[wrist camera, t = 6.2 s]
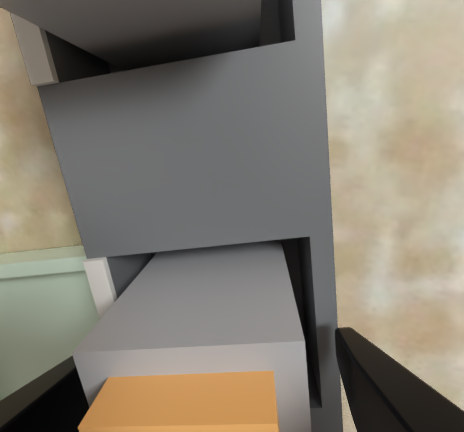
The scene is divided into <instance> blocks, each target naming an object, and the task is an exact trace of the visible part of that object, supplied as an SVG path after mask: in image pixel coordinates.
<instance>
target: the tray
mask: <svg viewBox="0 0 464 432" xmlns="http://www.w3.org/2000/svg"><path fill="white" fill-rule="evenodd" d="M86 259H87V258H86V254H85V251H84V247H83V245H78V246H68V247H59V248H50V249H41V250H31V251H22V252H13V253H3V254H0V401H1V400H2V399H4V398H5V397H7V396H9V395H10V394H12V393H13V392H15V391H16V390H18V389H20V388H21V387H23V386H24V385H26V384H28V383H29V382H31V381H32V380H34V379H36V378H37V377H39V376H40V375H42V374H44V373H45V372H47V371H48V370H50V369H51V368H53V367H55V366H56V365H58V364H59V363H61V362H63V361H64V360H66V359H67V358H69V357H71V356H72V352H73V351H74V350H75V348H76V347H77V346H78V345H79V344H80V343H81V341H82V340H83V339H84V338H85V337H86V336H87V334H88V333H89V332H90V331H91V330H92V328H93V327H94V326H95V325H96V324H97V323H98V321H99V320H100V319H99V315H98V312H97V308H96V305H95V302H94V298H93V295H92V291H91V288H90V284H89V281H88V278H87V274H86V271H85V267H84V264H83V261H85V260H86Z"/></svg>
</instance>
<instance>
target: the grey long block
mask: <svg viewBox="0 0 464 432" xmlns="http://www.w3.org/2000/svg"><path fill="white" fill-rule="evenodd" d="M10 15H11V18H12V22H13V25H14V29H15V32H16V36H17V39H18V42H19V46H20V49H21V53H22V56H23V59H24V63H25V66H26V70H27V73H28V76H29V80H30V83H31V85H32V86H36V87H37V88H38V91H39V95H40V98H41V102H42V105H43V109H44V112H45V116H46V119H47V123H48V126H49V129H50V133H51V136H52V140H53V143H54V147H55V150H56V154H57V157H58V161H59V164H60V168H61V171H62V175H63V178H64V181H65V185H66V188H67V192H68V195H69V199H70V202H71V206H72V209H73V213H74V216H75V220H76V223H77V227H78V230H79V233H80V237H81V240H82V244H83V247H84V251H85V254H86V258H87V259H86V260H85V261H83V264H84V267H85V271H86V274H87V278H88V281H89V284H90V288H91V291H92V295H93V298H94V302H95V305H96V308H97V312H98V315H99V319H101V318H102V317H103V316H104V314H105V313H106V312H107V311H108V310H109V309H110V307H111V306H112V305H113V304H114V303H115V302H116V300H117V299H118V298H119V297H120V296H121V294H122V293H123V292H124V291H125V290H126V289H127V287H128V286H129V285H130V284H131V283H132V282H133V280H134V279H135V278H136V277H137V276H138V275H139V273H140V272H141V271H142V270H143V269H144V268H145V266H146V265H147V264H148V263H149V262H150V260H151V259H152V258H153V257H154V256H155V255H156V253H157V252H161V251H171V250H181V249H191V248H201V247H211V246H220V245H230V244H240V243H250V242H260V241H270V240H280V239H281V243H282V247H283V252H284V256H285V260H286V264H287V268H288V272H289V277H290V281H291V285H292V289H293V293H294V297H295V302H296V306H297V310H298V314H299V318H300V322H301V327H302V331H303V335H304V339H305V349H306V363H307V376H308V390H309V404H310V418H311V432H343V422H342V402H341V383H340V371H339V367H338V363H337V359H336V349H335V329H336V328H338V324H337V304H336V285H335V265H334V246H333V226H332V207H331V187H330V168H329V148H328V128H327V109H326V89H325V70H324V50H323V31H322V11H321V0H261V23H260V47H255V48H250V49H244V50H238V51H233V52H227V53H222V54H216V55H211V56H205V57H199V58H194V59H188V60H183V61H177V62H172V63H166V64H161V65H155V66H149V67H144V68H138V69H133V70H127V71H124V70H122V69H120V68H119V67H117V66H115V65H113V64H111V63H109V62H107V61H105V60H103V59H101V58H99V57H97V56H95V55H93V54H91V53H89V52H87V51H85V50H83V49H81V48H79V47H78V46H76V45H74V44H72V43H70V42H68V41H66V40H64V39H62V38H60V37H58V36H56V35H54V34H52V33H50V32H48V31H46V30H44V29H42V28H40V27H38V26H36V25H35V24H33V23H31V22H29V21H27V20H25V19H23V18H21V17H19V16H17V15H15V14H13V13H11V12H10Z"/></svg>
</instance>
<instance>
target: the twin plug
mask: <svg viewBox="0 0 464 432" xmlns="http://www.w3.org/2000/svg"><path fill="white" fill-rule="evenodd" d="M0 7H1V8H3V9H5V10H7V11H9V12H11V13H13V14H15V15H17V16H19V17H21V18H23V19H25V20H27V21H29V22H31V23H33V24H35V25H36V26H38V27H40V28H42V29H44V30H46V31H48V32H50V33H52V34H54V35H56V36H58V37H60V38H62V39H64V40H66V41H68V42H70V43H72V44H74V45H76V46H78V47H79V48H81V49H83V50H85V51H87V52H89V53H91V54H93V55H95V56H97V57H99V58H101V59H103V60H105V61H107V62H109V63H111V64H113V65H115V66H117V67H119V68H120V69H122V70H124V71H127V70H133V69H138V68H144V67H149V66H155V65H161V64H166V63H172V62H177V61H183V60H188V59H194V58H199V57H205V56H211V55H216V54H222V53H227V52H233V51H238V50H244V49H250V48H255V47H260V23H261V0H0Z"/></svg>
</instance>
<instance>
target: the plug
mask: <svg viewBox="0 0 464 432" xmlns="http://www.w3.org/2000/svg"><path fill="white" fill-rule="evenodd" d="M72 355H73V359H74V362H75V365H76V368H77V371H78V374H79V377H80V380H81V383H82V386H83V389H84V392H85V396H86V399H87V402H88V405H89V410H88V411H87V413H86V415H85V416H84V418H83V420H82V421H81V423H80V424H79V426H78V430H79V432H311V418H310V404H309V390H308V376H307V363H306V349H305V339H304V335H303V331H302V327H301V322H300V318H299V314H298V310H297V306H296V302H295V297H294V293H293V289H292V285H291V281H290V277H289V272H288V268H287V264H286V260H285V256H284V252H283V247H282V243H281V239H280V240H270V241H260V242H250V243H240V244H230V245H220V246H211V247H201V248H191V249H181V250H171V251H161V252H157V253H156V255H155V256H154V257H153V258H152V259H151V260H150V262H149V263H148V264H147V265H146V266H145V268H144V269H143V270H142V271H141V272H140V273H139V275H138V276H137V277H136V278H135V279H134V280H133V282H132V283H131V284H130V285H129V286H128V287H127V289H126V290H125V291H124V292H123V293H122V294H121V296H120V297H119V298H118V299H117V300H116V302H115V303H114V304H113V305H112V306H111V307H110V309H109V310H108V311H107V312H106V313H105V314H104V316H103V317H102V318H101V319H100V320H99V321H98V323H97V324H96V325H95V326H94V327H93V328H92V330H91V331H90V332H89V333H88V334H87V336H86V337H85V338H84V339H83V340H82V341H81V343H80V344H79V345H78V346H77V347H76V348H75V350H74V351H73V352H72Z"/></svg>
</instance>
